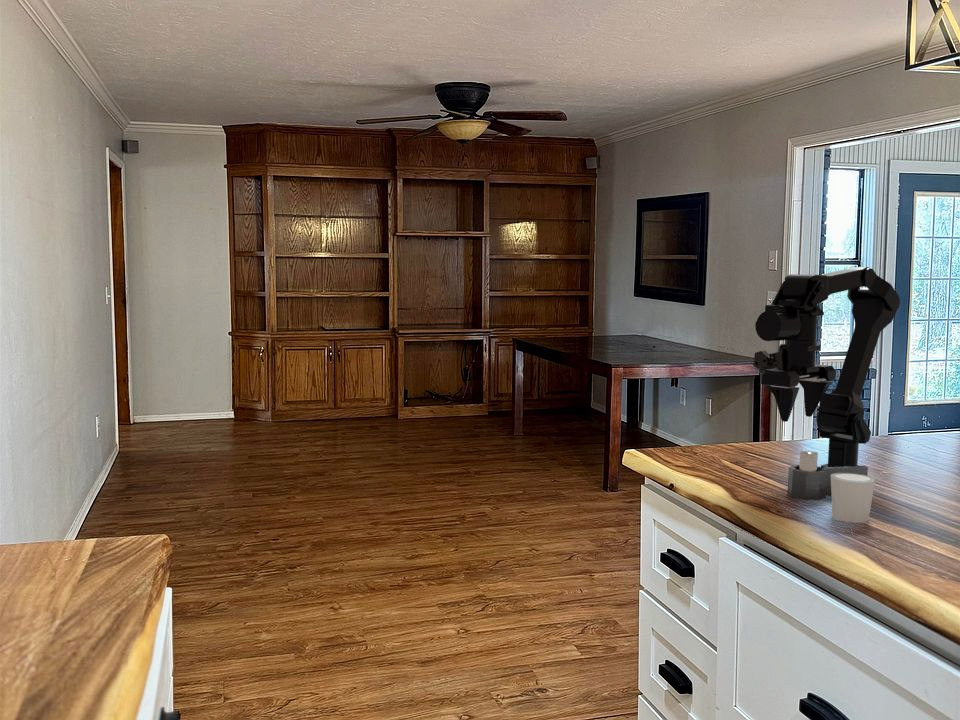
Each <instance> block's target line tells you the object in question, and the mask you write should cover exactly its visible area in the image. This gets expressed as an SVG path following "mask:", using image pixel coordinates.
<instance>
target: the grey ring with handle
mask: <svg viewBox="0 0 960 720" xmlns="http://www.w3.org/2000/svg"><path fill="white" fill-rule="evenodd" d="M799 465H800V464H794V465H790V466H788V477H787V494H788V495H789V496H790V497H792V498H795V499H800V500H806V501H807V500H809V501H821V500H823V499H826V498H827V496H832V495H831V474H834V473H855V474H862V475H866V476H868V471H869V467H868V466H866V465H858V466H844V467H821V466H818V465H817V472H812V471H802V470H799Z"/></svg>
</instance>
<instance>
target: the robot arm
mask: <svg viewBox="0 0 960 720" xmlns="http://www.w3.org/2000/svg"><path fill="white" fill-rule="evenodd" d="M846 291H847V295H846V296H847V298H848V300H849V302H851V304H852V308H851V314H852V317H853V320H854V323H855V326H854V329H853V332H852V336H851V338H850V342H849V345H848V347H847V352H846V354H845V358H844V360H843V364H842V367H841V370H840V374H839V377H838V380H837V379H836V377H837V370H836V369H835V367H833V365H827V364H817V363H816V358H817V357H816V354H817V351H821V344H817V338H818V336H817V333H818V318H819V316H824V315H825V311H823V309H822V308H821V307H819V304H820V303H823V302H824V301H826V300H828V299H829V296H830V295H833V294H837V293H841V292H846ZM900 299H901V298H900V296H899V294H898V293H897V291H896V289H895V288H894V286H893V285H892V284H891V283H889V282H888V281H886V280H885V279H883V278H882V277H881V276H880V275H878V274H877V273H876V272H875V270H874V269H873V268H871V267H869V266H850V267H848V268H847V267H846V269H840V270H836V271H831V272H828V273H823V274H799V273H798V274H788V275H786V276H785V277H784V280H783V282H782V283H781V285H780V287H779V289H778V291H777V293H776V295H775V296H774V298H773V301H772V302H771V304H766V305H765V306H764V311H763V312H762V313H760V314H759V316H758V318H756V319H757V320H756V322H755V323H754V324H755V326H754V327H755V331H756V334H757V336H758V337H759V338H760V339H761V340H763V341H765V342H777V341H779V342H780V341H784V343H780V345H779V346H778V351H776V352H773V353H768V352H767V351H766V350H760V351H756V352H754V357H753V363H752V365H753V367H755V369H756V368H757V370H758V373H759V374H760V377H759V378H760V379H759V381H760V382H759V384H760V385H763V387H764V388H765V389H768V391H769V392H771V393H772V395H773V397H774V400H775V402H776V406H777V409H778V413H779V416H780V420H781V422H785V423H787V422H788V421H789V419H790V416H791V414H792V412H793V409H794V405H795V402H796V399H797V396H798V393H799V392H800V391H799V390H800V387H797V386H798V385H800V386H801V387H802V388H803V398H804V399H803V400H804V402H803V403H804V414H805V417H807V418H808V417H809V418H811V417H812V416H813V415H814V413H815V411H816V412H817V413H816V418H815V419H816V425H817V431H818V435H819V438H823V439H824V438H825V439H828V454H827V463H825V464H820V467H844V466H859V465H858V464H859V463H858V460H859V444H861V445H862V444H864V445H865V444H867V443H869V442H870V438H871V435H872V430H871V429H870V428H869V426H868V424H867V423H866V421H865V420H864V414H865V406H864V404H863V401H862V397H861V396H862V392H863V389H864V386H865V384H866V383H865V382H866V379H867V376H868V373H869V369H870V366H871V363H872V360H873V357H874V353H875V350H876V347H877V344H878V341H879V338H880V334H881V332H882V331H883V330H884V329H885V328H887V326H889V325H890V324H891V323H892V322H893V320H894V318H895V316H896V314H897V312H898V310H899V308H900V305H901V304H900V303H901V300H900ZM836 380H837V383H836V385H835V388H834V389H833V390H832V391H830V393H829V392H827V391H828V390H829V387H830V386H832V384H833V382H832V381H836ZM818 405H819V406H818ZM817 407H818V408H817Z"/></svg>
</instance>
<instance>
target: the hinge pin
mask: <svg viewBox="0 0 960 720" xmlns="http://www.w3.org/2000/svg"><path fill="white" fill-rule="evenodd" d="M818 456H819V455H818V452H817V451H813V450H801V451H799V464H798V465H799V470H802V471H812V472H817V466H818Z"/></svg>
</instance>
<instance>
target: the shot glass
mask: <svg viewBox="0 0 960 720" xmlns="http://www.w3.org/2000/svg"><path fill="white" fill-rule="evenodd" d="M875 482H876V479H875V477H872V476H869V475H867V476H866V475H862V474H855V473H834V474H831V495H830V496H831V514H832V518H833V519H835V520H837V521H841V522H844V521H845V522H846V523H851V522H852V523H853V524H863V523H867V522H869V521H870V520H869V519H870V515H871V507H872V501H873V495H874V489H875ZM852 523H851V524H852Z"/></svg>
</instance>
